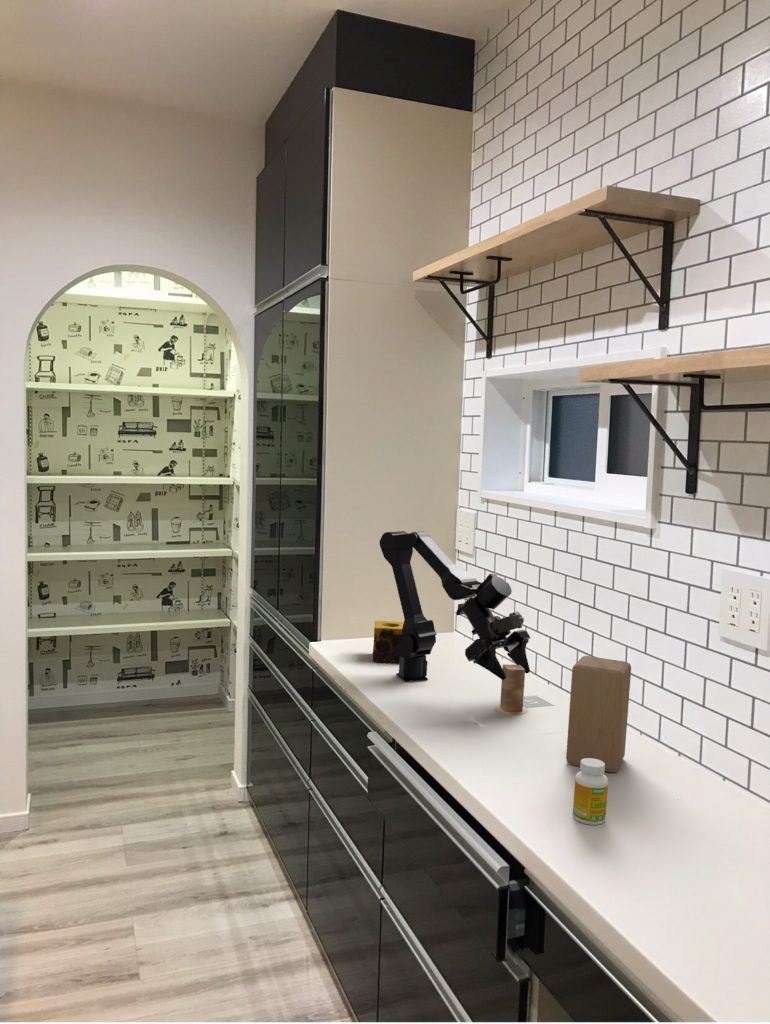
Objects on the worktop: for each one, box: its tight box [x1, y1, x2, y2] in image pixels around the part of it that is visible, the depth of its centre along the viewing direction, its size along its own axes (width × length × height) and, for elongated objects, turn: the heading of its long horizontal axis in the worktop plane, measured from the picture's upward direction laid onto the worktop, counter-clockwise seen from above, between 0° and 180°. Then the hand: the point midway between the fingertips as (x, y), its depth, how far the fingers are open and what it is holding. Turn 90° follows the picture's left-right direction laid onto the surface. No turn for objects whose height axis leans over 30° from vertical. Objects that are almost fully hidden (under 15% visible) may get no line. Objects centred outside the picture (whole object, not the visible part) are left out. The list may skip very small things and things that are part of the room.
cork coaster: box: [494, 704, 529, 716], centre depth 195 cm, size 8×8×1 cm
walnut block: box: [499, 664, 526, 712], centre depth 195 cm, size 4×4×10 cm
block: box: [565, 655, 632, 774], centre depth 165 cm, size 10×10×20 cm
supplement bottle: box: [572, 758, 609, 826], centre depth 140 cm, size 5×5×10 cm
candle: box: [372, 620, 404, 665], centre depth 236 cm, size 10×10×10 cm
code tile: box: [523, 695, 555, 709], centre depth 202 cm, size 8×8×1 cm
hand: (516, 675), depth 194 cm, fingers open, 9 cm apart
